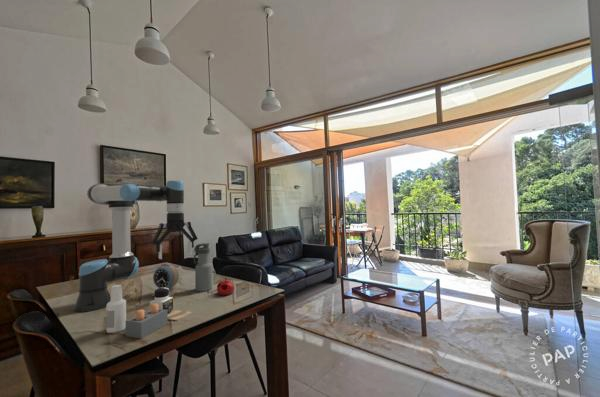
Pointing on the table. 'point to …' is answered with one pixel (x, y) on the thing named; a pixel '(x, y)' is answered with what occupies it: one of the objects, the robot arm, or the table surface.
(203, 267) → the water bottle
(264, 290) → the table surface
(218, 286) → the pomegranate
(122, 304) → the spray bottle
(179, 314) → the cork pad
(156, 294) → the medicine bottle
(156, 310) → the plunger
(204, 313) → the table surface
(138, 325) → the grey plunger block
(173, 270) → the alarm clock
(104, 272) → the robot arm
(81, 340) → the table surface
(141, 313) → the plunger
